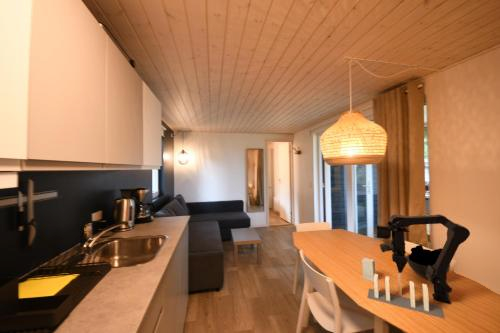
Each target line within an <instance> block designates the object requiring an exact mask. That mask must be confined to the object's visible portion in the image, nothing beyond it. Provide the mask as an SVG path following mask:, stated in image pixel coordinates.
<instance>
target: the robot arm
mask: <svg viewBox="0 0 500 333" xmlns="http://www.w3.org/2000/svg"><path fill="white" fill-rule="evenodd" d="M437 224H438V225H439V224H441V225H442V226H443V227H445V228H447V229H446V241H445V242H444V244H443V247H442V251H441V253H440V255H439V257H438V259H437V261H436V263H435V264H434V265H433V266H430V265H428V268H427V270H426V276H427V278H426V279H428V280H429V281H430V283H431V284H432V285H433V286H432V288H433V293H432V294H431V295H432V298H433V301H435V302H439V303H443V304H447V305H452V301H451V299H450V294H451V293H452V290H453V288H452V287H451V286H450V285H449V284H448V282H447V279H448V277H447V276H448V275H447V274H448V273H447V269H448V267H449V265H450V266H451V262H452V260H453V258H454V256H455V254H456V252H457V251H458V248H459V246H460V245H462V244H463V243H465V242H466V241H467V239H469V237H470V236H471V232H470V230H469V229H468V228H467V227H466V226H463V225H461V224H460V223H457V222H456V223H455V221H454V222H453V221H452V220H450V219H449V218H447V216H445V215H442V214H431V215H430V214H429V215H428V214H427V215H402V214H392V215H391V216H390V218H389V221H388V222H387V223H386V224H385V225H379V224H375V229H374V233H375V238H376V239H386V240H388V239H390V238H391V240H390V241H389V242H383V243H380V244H379V248H380V250H381V253H385V252H390V251H391V253H392V254H391V261H393V263H395V264H396V268H397V272H399V273H401V274H402V272H403V271H404V269H405V267H406V265H407V264H408V262H407V255H406V253H407V252H406V242H405V241H406V238H405V235H406V234H405V233H410V230H409V229H408V228H407V227H410V226H415V225H416V226H417V225H437Z"/></svg>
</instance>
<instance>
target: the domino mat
mask: <svg viewBox="0 0 500 333" xmlns="http://www.w3.org/2000/svg"><path fill="white" fill-rule="evenodd" d="M366 298H367V299H370V300H373V301H378V302H382V303H385V304H389V305H392V306H397V307H400V308H403V309H407V310H410V311H414V312H418V313H422V314H424V315H428V316H429V315H430V316H432V317H437V318H439V319H445V320H446V317H445V314H444V311H443V307H442V305H439V304H434V303H430V302H429V311H425V310H424V305H423V300H417V299H415V308H414V307H411V301H410V297H406V296H403V295H399V294H393V293H390V301H387V300H386V291H382V290H381V291H380V290H379V297H378V298H376V297H375V292H374V289H373V288H368V293H367V297H366Z"/></svg>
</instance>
